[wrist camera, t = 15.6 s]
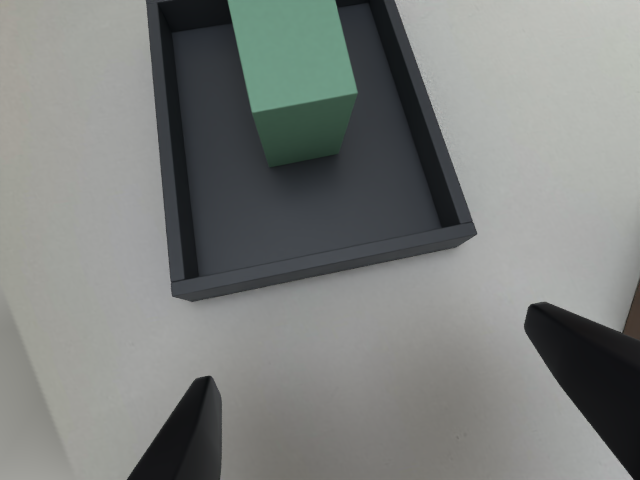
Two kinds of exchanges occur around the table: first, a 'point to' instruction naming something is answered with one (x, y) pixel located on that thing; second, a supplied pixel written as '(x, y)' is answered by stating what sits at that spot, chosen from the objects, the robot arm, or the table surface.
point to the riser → (634, 317)
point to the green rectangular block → (295, 76)
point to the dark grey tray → (300, 177)
